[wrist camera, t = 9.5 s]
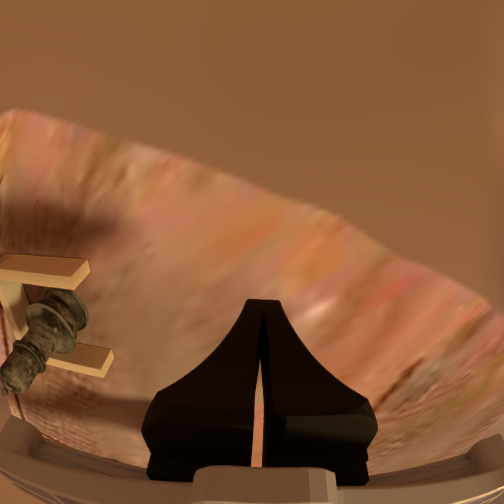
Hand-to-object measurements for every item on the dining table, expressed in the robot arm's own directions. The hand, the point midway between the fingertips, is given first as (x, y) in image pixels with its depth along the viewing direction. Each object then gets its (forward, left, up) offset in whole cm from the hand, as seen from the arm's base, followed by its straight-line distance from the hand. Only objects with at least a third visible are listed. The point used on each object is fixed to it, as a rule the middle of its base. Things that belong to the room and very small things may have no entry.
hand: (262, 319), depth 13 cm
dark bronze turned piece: (-9, +19, -11) cm, 23 cm away
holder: (-9, +20, -10) cm, 24 cm away
